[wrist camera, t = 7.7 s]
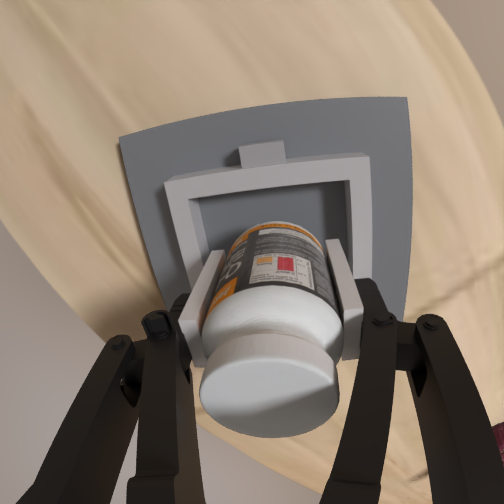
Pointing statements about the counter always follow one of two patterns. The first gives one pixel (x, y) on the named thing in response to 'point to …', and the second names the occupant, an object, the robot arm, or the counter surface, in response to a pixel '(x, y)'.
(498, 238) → the counter surface
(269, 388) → the pill bottle
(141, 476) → the robot arm
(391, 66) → the counter surface
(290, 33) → the counter surface
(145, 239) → the socket
